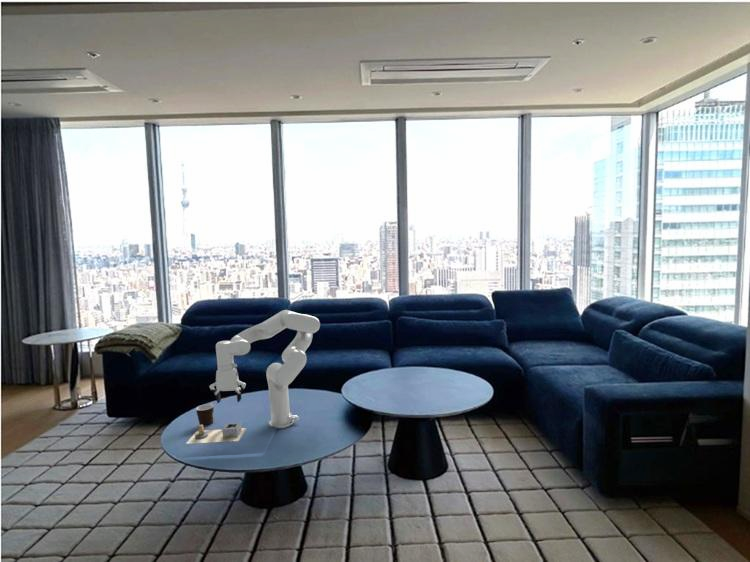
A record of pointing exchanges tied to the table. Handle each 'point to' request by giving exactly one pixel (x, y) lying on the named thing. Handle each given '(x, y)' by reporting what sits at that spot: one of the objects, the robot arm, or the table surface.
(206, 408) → the coffee mug
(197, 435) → the stand board
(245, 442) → the table surface
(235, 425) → the collar
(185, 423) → the table surface
